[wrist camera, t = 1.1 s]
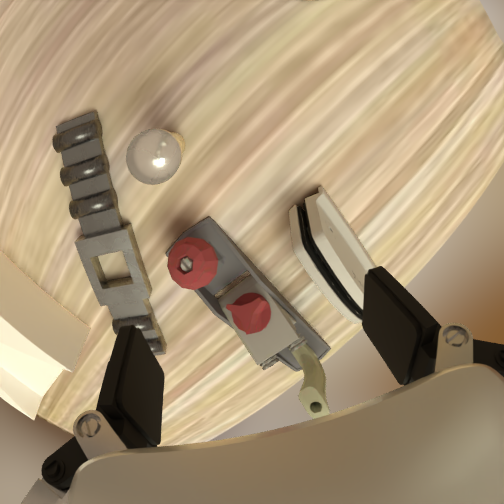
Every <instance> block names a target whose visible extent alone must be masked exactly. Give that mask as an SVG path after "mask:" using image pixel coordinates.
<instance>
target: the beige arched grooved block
mask: <svg viewBox="0 0 504 504" xmlns="http://www.w3.org/2000/svg"><path fill="white" fill-rule="evenodd" d="M318 190H319V193H317V194H315V195H312V196H310V197H307V198H305V203H303V205H304V210H305V211H304V210H303V209H302V207H301V206H298V207H297V206H296V205H294V206H293V207H292V208H291V209H290V211H289V220H290V229H291V238H292V247H293V250H294V253H295V255H296V256H297V258H298V259H299V261H300V262H301V264H302V266H303V267H304V268H305V270H306V271H307V273H308V274H309V276H310V277H311V279H312V280H313V281H314V283H315V284H316V285H317V287H318V288H319V290H320V291H321V292H322V293H323V295H324V296H325V297H326V298H327V300H328V301H329V302H330V303H331V304H332V305H333V306H334V307H335V309H336V310H337V311H339V312H340V313H341V314H342V315H343V316H344V317H345V318H346V319H348V320H349V321H351V322H352V323H354V324H355V323H360V322H362V316H363V300H364V277H365V274H367V273H368V270H369V269H372V268H376V266H375V264H374V262H373V261H372V259H371V258H370V256H369V254H368V253H367V251H366V250H365V248H364V246H363V245H362V243H361V242H360V240H359V239H358V237H357V236H356V234H355V233H354V231H353V230H352V228H351V227H350V225H349V224H348V222H347V221H346V219H345V218H344V216H343V215H342V213H341V212H340V211H339V209H338V208H337V206H336V205H335V203H334V202H333V201H332V199H331V198H330V196H329V195H328V194H327V192H326V191H325V189H324V188H323V187H322V186H320V187H318Z"/></svg>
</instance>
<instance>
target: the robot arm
mask: <svg viewBox="0 0 504 504" xmlns="http://www.w3.org/2000/svg"><path fill="white" fill-rule="evenodd" d="M305 1H313V0H305ZM362 326H363V329H364V331H365V333H366V334H367V336H368V337H369V338H370V340H371V342H372V343H373V345H374V346H375V347H376V349H377V350H378V352H379V353H380V355H381V357H382V358H383V360H384V361H385V363H386V364H387V366H388V367H389V369H390V370H391V372H392V374H393V375H394V377H395V378H396V380H397V381H398V383H399V384H400V385H402V384H403V385H404V386H403V387H401V388H398V389H396V390H393V391H391V392H389V393H386V394H384V395H381V396H379V397H376V398H374V399H371V400H369V401H366V402H363V403H361V404H358V405H355V406H352V407H350V408H347V409H344V410H341V411H338V412H335V413H332V414H329V415H325V416H322V417H319V418H316V419H312V420H309V421H306V422H302V423H298V424H295V425H291V426H287V427H283V428H278V429H275V430H270V431H265V432H261V433H257V434H251V435H246V436H240V437H235V438H229V439H223V440H216V441H209V442H202V443H193V444H184V445H174V446H163V447H157V445H159V444H160V442H161V423H162V406H163V391H164V372H163V370H162V368H161V366H160V365H159V363H158V361H157V359H156V358H155V356H154V354H153V352H152V350H151V348H150V347H149V345H148V343H147V341H146V339H145V337H144V335H143V333H142V331H141V330H140V328H139V327H137V328H136V327H135V326H134V325H128V326H122V327H120V329H119V331H118V335H117V338H116V341H115V344H114V348H113V351H112V355H111V358H110V361H109V362H108V365H107V369H106V372H105V376H104V380H103V383H102V387H101V391H100V395H99V399H98V403H97V407H96V410H89V411H85V412H84V413H82V414H81V415H79V416H78V417H77V419H76V420H75V422H74V425H73V432H74V435H75V436H74V437H73V438H72V439H70V440H69V441H68V442H67V443H65V444H64V445H63V446H62V447H60V448H59V449H58V450H57V451H56V452H54V453H53V454H52V455H50V456H49V457H48V458H47V459H46V460H45V461H44V463H43V465H42V476H43V478H42V480H41V479H39V478H38V480H37V481H36V482H35V484H34V485H33V487H32V488H31V490H30V491H29V492H28V494H27V495H26V497H25V498H24V500H23V501H22V503H21V504H504V345H503V344H497V343H491V342H485V341H480V340H474V339H473V337H472V333H471V332H470V330H469V329H468V328H467V327H466V326H464V325H462V324H458V323H448V324H446V325H444V326H442V327H441V326H440V324H439V323H438V322H437V321H436V320H435V319H434V318H433V317H432V316H431V315H430V314H429V313H428V311H427V310H426V309H425V308H423V306H422V305H421V304H420V303H419V302H418V301H417V300H416V299H415V298H414V297H413V296H412V295H411V294H410V293H409V292H408V291H407V290H406V289H405V288H404V287H403V286H402V285H401V284H400V283H399V282H398V281H397V280H396V279H395V278H394V277H393V276H392V275H391V274H390V273H389V272H388V271H387V270H386V269H384V268H383V267H382V266H379V267H376V268H372V269H369V270H368V273H367V274H365V277H364V300H363V316H362Z"/></svg>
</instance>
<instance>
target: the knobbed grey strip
mask: <svg viewBox="0 0 504 504" xmlns="http://www.w3.org/2000/svg"><path fill="white" fill-rule="evenodd" d="M56 128H57V134H55V135H54V136H53V147H54V149H55V151H56V152H57V153H60V152H61V154H62V159H63V163H64V167H63V168H62V169H61V171H60V178H61V181H62V183H63V185H64V186H69V188H70V191H71V195H72V199H73V200H72V201H71V202H70V204H69V210H70V214H71V216H72V218H73V219H79V222H80V225H81V228H82V231H83V234H84V235H81V236H80V237H79V238H78V239H77V240H76V241H75V245H76V247H77V250H78V253H79V255H80V258H81V261H82V263H83V266H84V268H85V271H86V273H87V276H88V278H89V281H90V283H91V285H92V288H93V290H94V292H95V295H96V297H97V299H98V301H99V303H100V306H105V305H107V306H108V308H109V310H110V312H111V314H112V316H113V322H112V326H113V330H114V332H115V334H116V335H118V331H119V329H120V327H122V326H128V325H134V326H135V327H136V328H137V327H139V328H140V330H141V331H142V333H143V335H144V337H145V339H146V341H147V343H148V345H149V347H150V348H151V350H152V352H153V354H154V356H155V355H162V354H166V346H167V344H166V342H165V340H164V337H163V335H162V333H161V330H160V328H159V325H158V323H157V320H156V318H155V315H154V313H153V310H152V308H151V305H150V303H149V300H148V298H150V295H151V291H152V288H151V285H150V282H149V279H148V276H147V273H146V270H145V267H144V264H143V261H142V258H141V255H140V252H139V248H138V245H137V242H136V239H135V235H134V232H133V229H132V225H131V223H129V224H125V225H123V223H122V219H121V216H120V212H119V209H118V200H117V195H116V192H115V190H114V189H113V186H112V182H111V178H110V173H109V162H108V158H107V156H106V155H105V151H104V146H103V141H102V127H101V124H100V122H99V120H98V114H97V112H91V113H89V114H86V115H83V116H81V117H78V118H75V119H73V120H70V121H68V122H65V123H63V124H61V125H58V126H56ZM117 251H123V254H124V257H125V260H126V263H127V266H128V268H129V271H130V274H131V277H126V278H121V279H116V280H111V281H107V280H106V278H105V275H104V273H103V270H102V268H101V265H100V262H99V260H98V257H97V256H99V255H104V254H108V253H113V252H117Z"/></svg>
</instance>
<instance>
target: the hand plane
mask: <svg viewBox="0 0 504 504" xmlns="http://www.w3.org/2000/svg"><path fill="white" fill-rule="evenodd" d="M166 256H167V257H168V265H167V267H168V269H169V272H170V275H171V277H172V279H173V280H174V281H175V282H176V283H177V284H178V285H180V286H181V287H182V288H187V289H192V290H195V292H196V293H197V294H198V295H199V297H200V298H201V299H202V300H203V301H204V303H205V304H206V305H207V306H208V308H209V309H210V310H211V311H212V312H213V314H214V315H216V316H217V317H218V318H220V319H221V320H222V321H224V322H225V323H226V324H228V325H229V326H230V327H232V328H233V329H234V330H235V331H236V333H237V334H238V336H239V338H240V339H241V341H242V342H243V344H244V345H245V347H246V348H247V350H248V352H249V353H250V355H251V356H252V358H253V359H254V361H255V362H256V364H257V365H259V364H260V366H263V368H262V369H263V370H265V369H267V368H269V367H271V366H273V365H274V364H275V363H276V362H278V361H281V362H282V363H284V364H285V365H287V366H288V367H290V368H291V369H293V370H294V371H300V370H302V369H303V372H304V382H303V385H302V388H301V390H300V393H299V400H300V402H301V403H302V405H303V406H304V407H305V409H306V411H307V412H308V414H309V415H310V416H311V417H312V418H314V419H316V418H319V417H322V416H325V415H329V407H328V404H327V400H326V377H325V373H324V370H323V368H322V365H321V363H320V361H319V360H320V359H322V358H323V357H324V356H325V355H326V354H327V352H328V351H329V350H330V349H331V348H330V347H329V346H328V345H327V344H326V342H325V341H324V340H323V339H322V338H321V337H320V336H319V335H318V334H317V333H316V332H315V331H314V330H313V328H312V327H311V326H310V325H309V324H308V323H307V322H306V321H305V320H304V319H303V318H302V316H301V315H300V314H299V313H298V312H297V311H296V310H295V309H294V308H293V307H292V306H291V305H290V303H289V302H288V301H287V300H286V299H285V298H284V297H283V296H282V295H281V294H280V293H279V291H278V290H277V289H276V288H275V287H274V286H273V285H272V284H271V283H270V282H269V281H268V279H267V278H266V277H265V276H264V275H263V274H262V273H261V272H260V271H259V270H258V269H257V267H256V266H255V265H254V264H253V263H252V262H251V261H250V260H249V259H248V258H247V257H246V255H245V254H244V253H243V252H242V251H241V250H240V249H239V248H238V247H237V246H236V244H235V243H234V242H233V241H232V240H231V239H230V238H229V237H228V236H227V235H226V233H225V232H224V231H223V230H222V229H221V228H220V227H219V226H218V225H217V224H216V222H215V221H214V220H213V219H212V218H211V217H207V218H205V219H204V220H202V221H200V222H199V223H197V224H196V225H194V226H193V227H191V228H189V229H188V230H186V231H185V232H183V234H182V235H181V236H180V237H179V238H178V239H177V241H176V242H175V243H174V244H173V245H172V246H171V248H170V249H169V250H168V251H167V252H166ZM247 270H248V271H249V272H250V274H251V275H249V276H248V277H247V278H245V279H244V280H243V281H241V282H240V283H239V284H237V285H236V286H235V287H233V288H232V289H231V290H229V291H228V292H227V293H225V294H224V295H223V296H221V297H220V298H219V299H217V298H216V297H215V296H214V295H215V294H216V293H218V292H219V291H220V290H222V289H223V288H224V287H226V286H227V285H228V284H230V283H231V282H232V281H234V280H235V279H236V278H237V277H239V276H240V275H241V274H243V273H244V272H245V271H247Z"/></svg>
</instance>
